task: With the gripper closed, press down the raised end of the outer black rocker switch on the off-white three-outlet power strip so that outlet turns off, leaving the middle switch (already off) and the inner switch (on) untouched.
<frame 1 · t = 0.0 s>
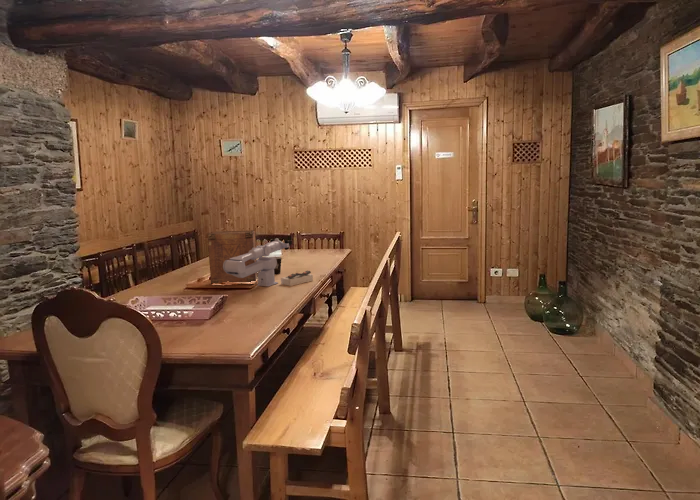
hand: (285, 241, 306), 22 cm above the table, tool horizontal, fingers open, 7 cm apart
carved wooden box: (234, 283, 298), on the table
rocker inner: (292, 276, 290), point 5 cm above the table, hinge at -12.0°
power strip: (297, 282, 296), on the table
coffee mug: (272, 273, 323), on the table
rocker outer: (306, 272, 298), point 5 cm above the table, hinge at -12.0°
rocker middle: (299, 274, 294), point 5 cm above the table, hinge at 12.0°
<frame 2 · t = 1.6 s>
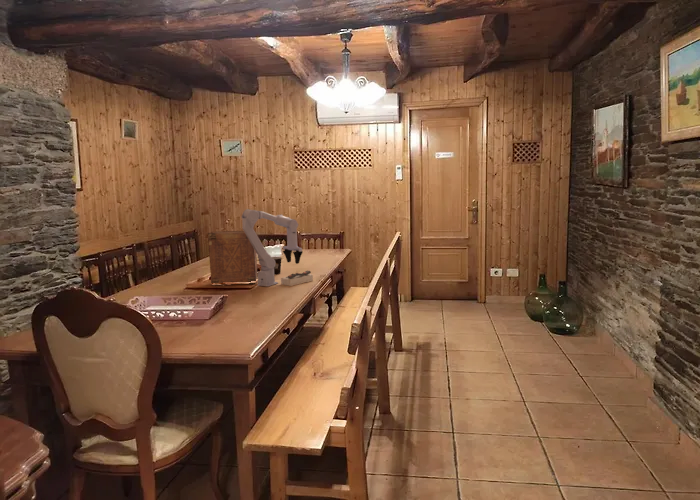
hand: (293, 262, 300), 10 cm above the table, tool pointing down, fingers open, 7 cm apart
carved wooden box: (234, 283, 297), on the table, touching arm
everything else where it was.
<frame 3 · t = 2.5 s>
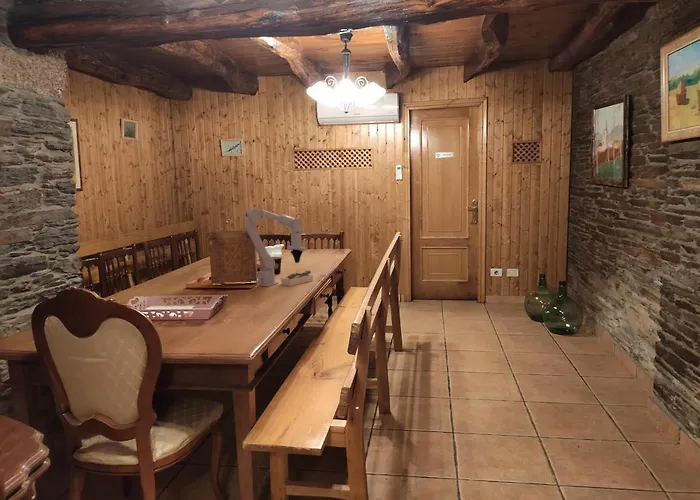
hand: (297, 262, 300), 11 cm above the table, tool pointing down, fingers closed
carved wooden box: (235, 283, 297), on the table
everything else where it was.
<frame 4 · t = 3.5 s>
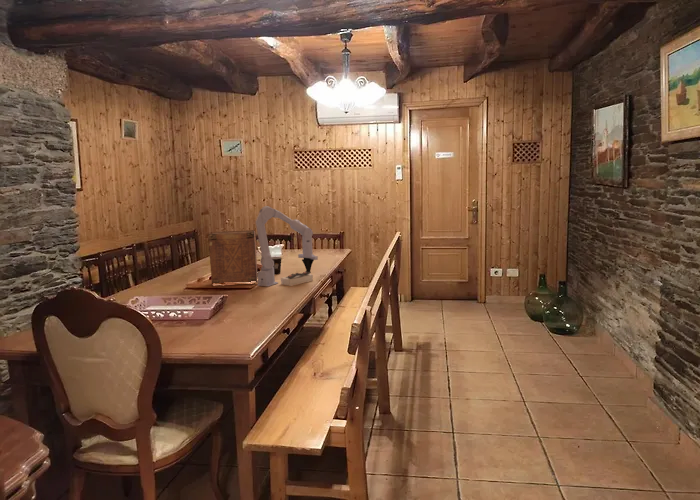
hand: (308, 270, 299), 6 cm above the table, tool pointing down, fingers closed, pressing on rocker outer
rocker outer: (306, 272, 298), point 5 cm above the table, hinge at -12.0°, touching gripper
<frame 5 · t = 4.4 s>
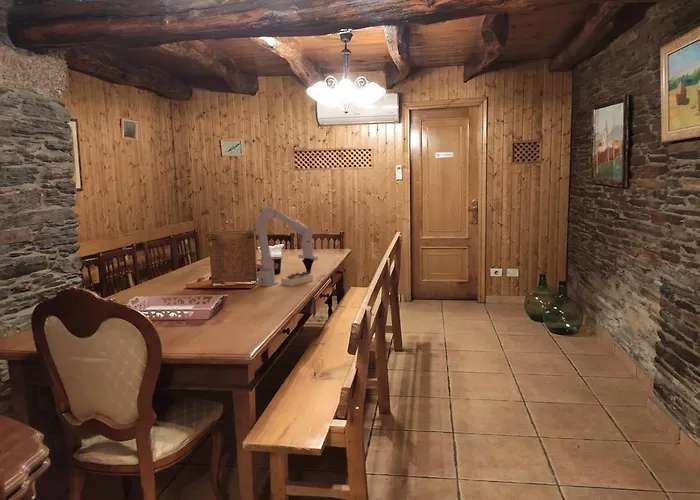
hand: (308, 271, 299), 5 cm above the table, tool pointing down, fingers closed, pressing on rocker outer
rocker outer: (306, 272, 298), point 5 cm above the table, hinge at -1.5°, touching gripper
everything else where it was.
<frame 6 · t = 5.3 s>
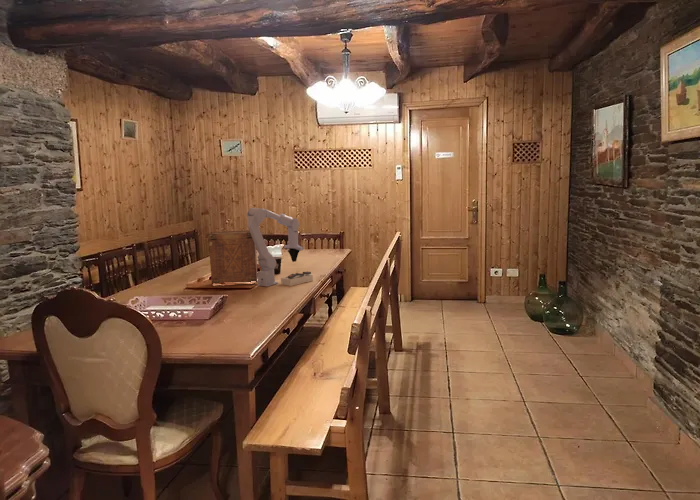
hand: (294, 261, 304), 10 cm above the table, tool pointing down, fingers closed
rocker outer: (306, 272, 298), point 5 cm above the table, hinge at 5.6°
everything else where it was.
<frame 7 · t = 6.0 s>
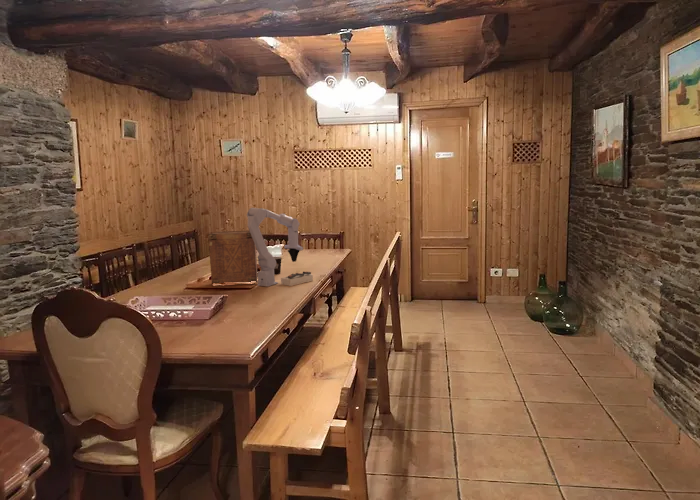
hand: (294, 261, 304), 10 cm above the table, tool pointing down, fingers closed
rocker outer: (306, 272, 298), point 5 cm above the table, hinge at 10.1°
everything else where it was.
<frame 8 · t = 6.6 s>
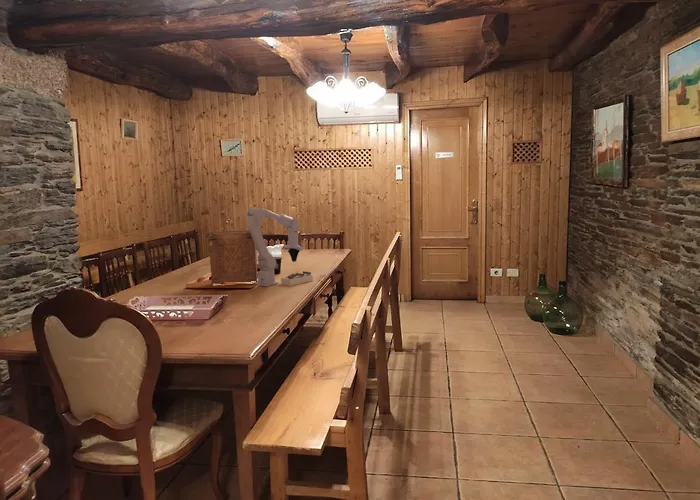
hand: (294, 261, 304), 10 cm above the table, tool pointing down, fingers closed
rocker outer: (306, 272, 298), point 5 cm above the table, hinge at 13.5°
everything else where it was.
at the end: rocker outer at +14° (first picture: -12°); rocker middle at +12° (first picture: +12°); rocker inner at -12° (first picture: -12°) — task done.
